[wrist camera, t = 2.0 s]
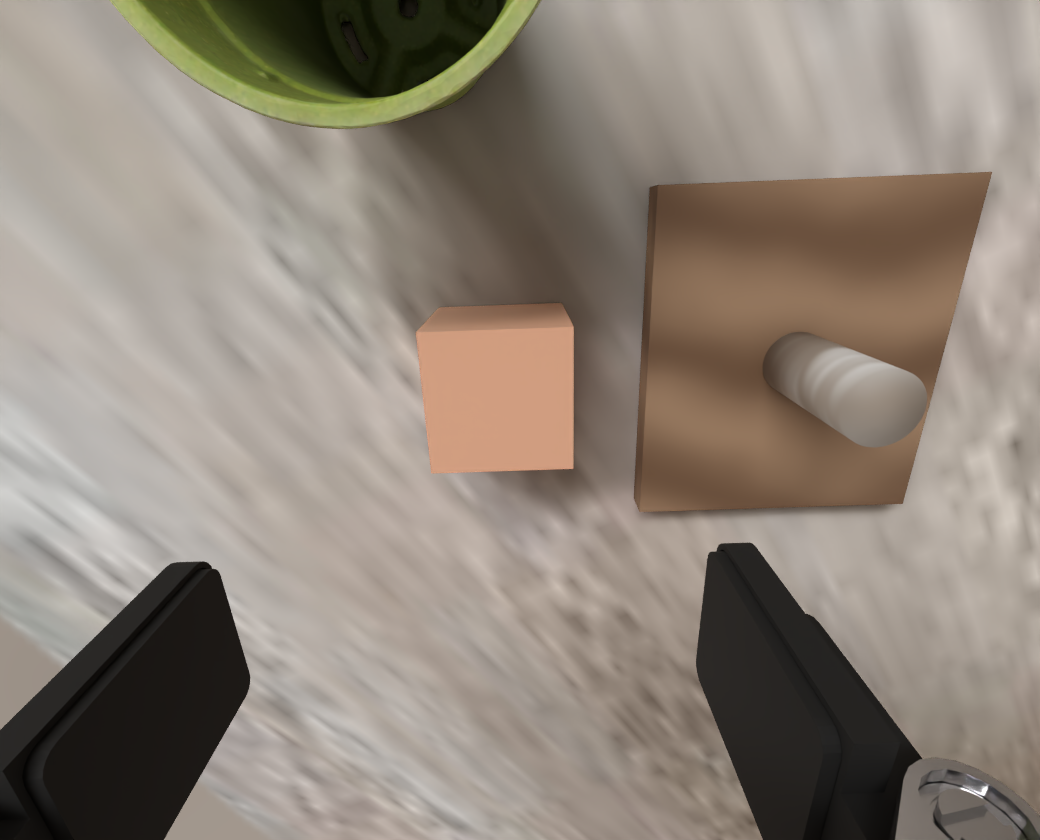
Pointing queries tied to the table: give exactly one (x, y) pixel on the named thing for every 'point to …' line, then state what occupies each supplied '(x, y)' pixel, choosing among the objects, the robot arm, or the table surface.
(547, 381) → the salmon orange cube
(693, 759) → the table surface
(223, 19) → the plant pot
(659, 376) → the post board
